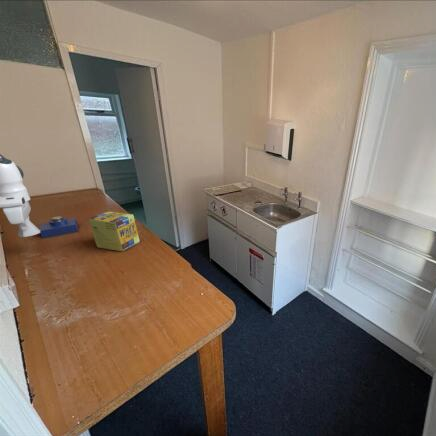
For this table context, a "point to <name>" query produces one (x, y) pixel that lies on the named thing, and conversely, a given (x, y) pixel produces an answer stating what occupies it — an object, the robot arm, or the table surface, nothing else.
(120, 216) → the protein box
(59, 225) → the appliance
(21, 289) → the table surface
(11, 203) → the robot arm
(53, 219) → the button
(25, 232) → the flask
